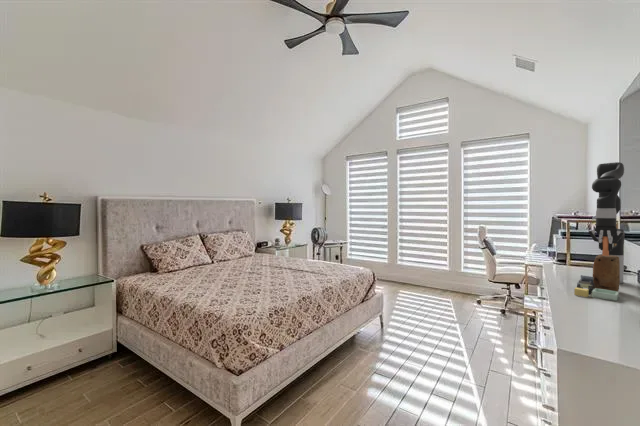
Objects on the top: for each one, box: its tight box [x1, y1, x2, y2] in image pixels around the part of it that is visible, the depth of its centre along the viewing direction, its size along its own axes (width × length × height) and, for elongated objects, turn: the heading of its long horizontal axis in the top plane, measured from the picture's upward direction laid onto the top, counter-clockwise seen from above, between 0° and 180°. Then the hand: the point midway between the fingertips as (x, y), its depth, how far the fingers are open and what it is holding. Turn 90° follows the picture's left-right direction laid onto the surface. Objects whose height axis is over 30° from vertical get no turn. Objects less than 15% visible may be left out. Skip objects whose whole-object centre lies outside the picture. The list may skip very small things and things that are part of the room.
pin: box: [601, 236, 609, 256], centre depth 146 cm, size 2×2×10 cm
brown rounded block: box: [592, 253, 621, 292], centre depth 158 cm, size 11×8×20 cm
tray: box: [591, 288, 620, 302], centre depth 147 cm, size 9×9×3 cm
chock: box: [573, 286, 590, 298], centre depth 150 cm, size 4×5×4 cm
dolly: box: [576, 274, 594, 294], centre depth 157 cm, size 9×6×8 cm, turn 128°
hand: (605, 250), depth 146 cm, fingers closed on pin, 2 cm apart
